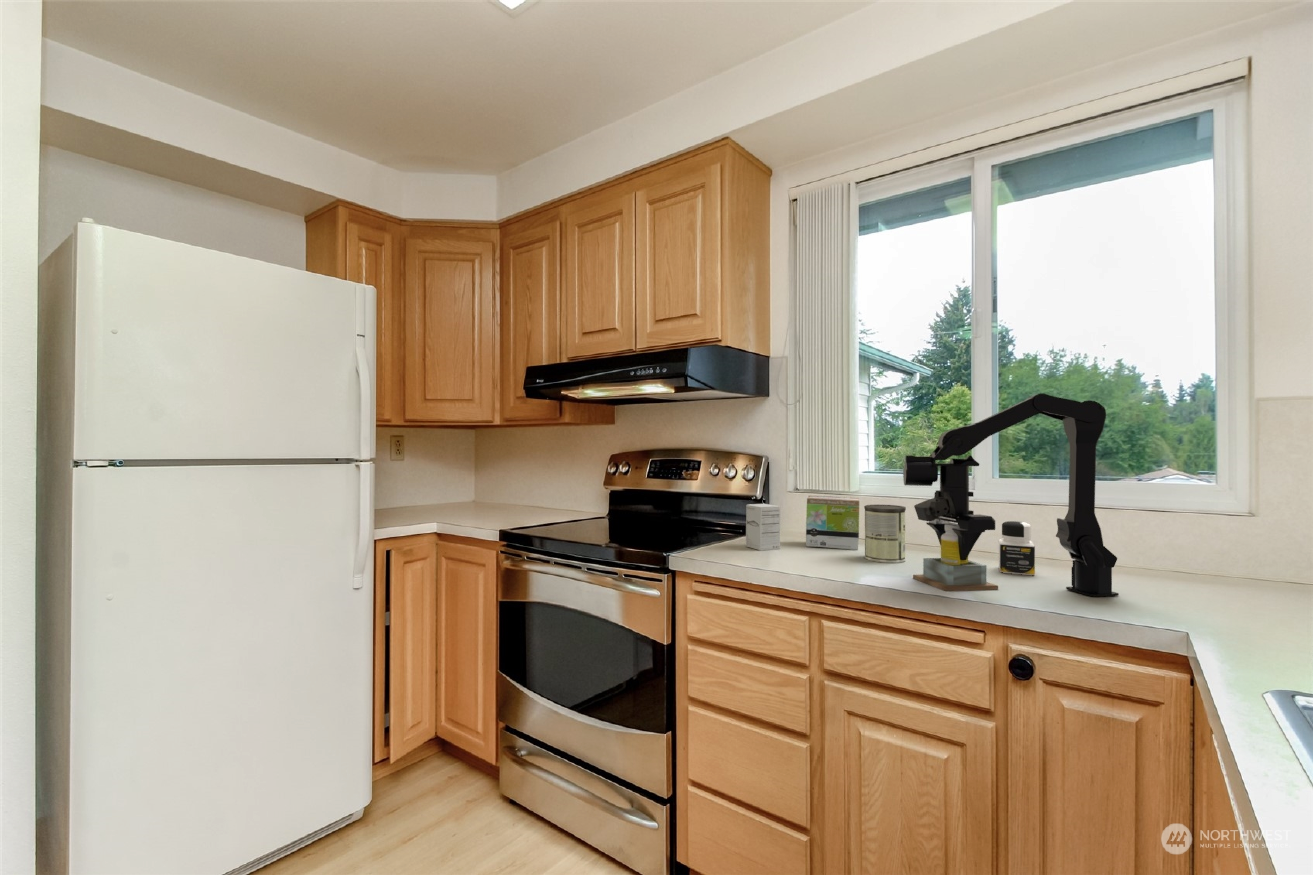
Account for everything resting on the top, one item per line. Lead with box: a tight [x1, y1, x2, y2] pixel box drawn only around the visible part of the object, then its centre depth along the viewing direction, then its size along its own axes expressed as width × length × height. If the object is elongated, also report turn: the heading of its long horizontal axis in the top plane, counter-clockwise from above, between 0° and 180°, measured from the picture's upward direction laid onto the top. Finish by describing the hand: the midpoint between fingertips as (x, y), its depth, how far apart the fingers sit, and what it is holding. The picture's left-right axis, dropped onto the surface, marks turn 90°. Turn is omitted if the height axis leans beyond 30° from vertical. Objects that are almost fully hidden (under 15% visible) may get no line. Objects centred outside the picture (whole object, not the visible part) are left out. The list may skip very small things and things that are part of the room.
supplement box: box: [745, 503, 781, 551], centre depth 174 cm, size 7×7×13 cm
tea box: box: [805, 495, 860, 551], centre depth 178 cm, size 15×10×15 cm, turn 73°
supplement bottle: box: [940, 523, 969, 565], centre depth 131 cm, size 5×5×10 cm
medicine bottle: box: [998, 520, 1036, 576], centre depth 144 cm, size 7×7×12 cm
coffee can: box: [863, 504, 907, 564], centre depth 158 cm, size 10×10×14 cm
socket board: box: [912, 557, 999, 592], centre depth 131 cm, size 12×12×5 cm
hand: (954, 557), depth 131 cm, fingers closed on supplement bottle, 5 cm apart
